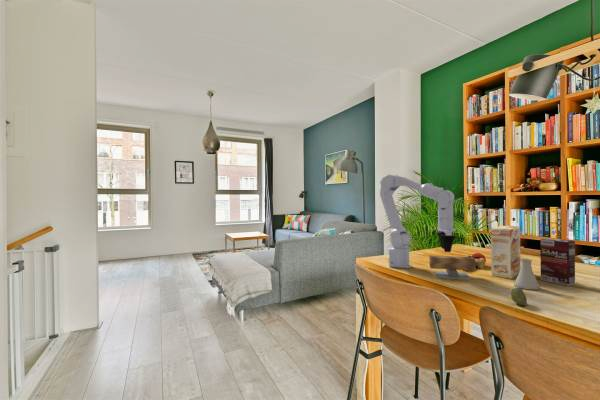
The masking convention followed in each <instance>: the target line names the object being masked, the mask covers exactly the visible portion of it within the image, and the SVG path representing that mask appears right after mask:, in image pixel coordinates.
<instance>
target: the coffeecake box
mask: <svg viewBox="0 0 600 400" xmlns="http://www.w3.org/2000/svg"><path fill="white" fill-rule="evenodd" d="M490 252H491V253H490V255H491V256H490V259H491V260H490V261H491V263H490V264H491V266H490V267H491V271H490V272H491V276H492V277H493V276H494V277H499V278H504V279H509V280H510V279H511V280H512V279H513V278H515V277H516V276H518V274H519V272H520V269H521V260H520V259H521V226H517V225H500V226H495V227H491V228H490Z"/></svg>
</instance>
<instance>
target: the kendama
mask: <svg viewBox="0 0 600 400" xmlns="http://www.w3.org/2000/svg"><path fill="white" fill-rule="evenodd" d="M465 257H473V258H474V259H475V267H476V266H477V268H478V269H483V268H484V267H485V265H486V262H487V258H486V256H485V255H484V254H482V253H480V252H476V253H473V254H472V255H470V254H466V256H465ZM468 271H469V270H462V272H468Z"/></svg>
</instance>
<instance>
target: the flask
mask: <svg viewBox="0 0 600 400" xmlns="http://www.w3.org/2000/svg"><path fill="white" fill-rule="evenodd" d="M532 261H533V259H531V258H521V257H520V263H521V269H520V272H519V274H517V277H516V279H515V282H514V284H513V286H515V288H521V289H522V290H523V289H524V290H531V291H539V290H540V288H541V287H540V285H539V282H538V281H537V278H536V276H535V273H534V272H533V268H532Z"/></svg>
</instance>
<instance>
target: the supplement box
mask: <svg viewBox="0 0 600 400" xmlns="http://www.w3.org/2000/svg"><path fill="white" fill-rule="evenodd" d="M575 243H576V241H575V240H569V239H568V240H567V239H559V238H549V237H546V238H545V237H544V238H540V244H539V246H540V251H539V252H540V255H539V256H540V258H539V259H540V281H544V282H549V283H552V284H553V283H554V284H558V285H562V286H566V287H570V286H571V287H572V286H573V285H574V286H575V285H576V244H575Z"/></svg>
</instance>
